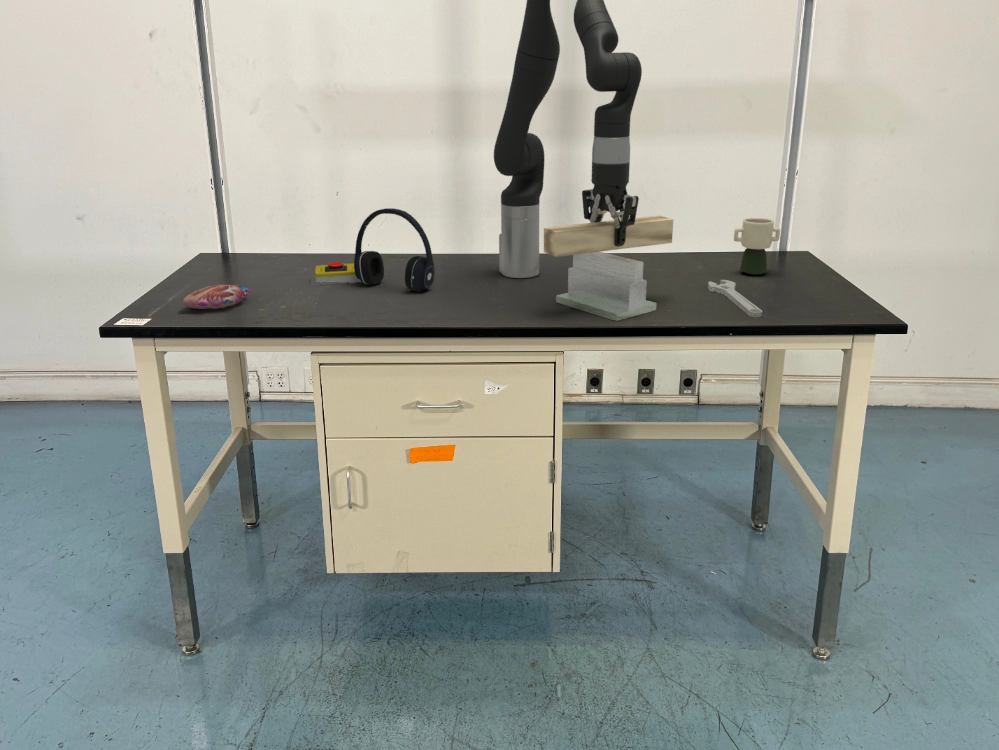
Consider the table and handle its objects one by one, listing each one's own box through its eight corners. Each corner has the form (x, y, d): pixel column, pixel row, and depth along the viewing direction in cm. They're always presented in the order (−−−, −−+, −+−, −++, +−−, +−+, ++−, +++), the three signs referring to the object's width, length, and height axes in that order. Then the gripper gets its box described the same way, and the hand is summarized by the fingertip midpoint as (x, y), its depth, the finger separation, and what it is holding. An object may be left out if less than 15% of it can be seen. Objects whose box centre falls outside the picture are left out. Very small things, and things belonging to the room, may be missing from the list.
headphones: (439, 288, 186) (436, 209, 179) (423, 296, 180) (419, 214, 174) (368, 279, 195) (363, 203, 188) (351, 286, 189) (345, 208, 182)
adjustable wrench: (764, 319, 163) (765, 311, 162) (732, 320, 163) (733, 311, 162) (731, 286, 186) (732, 279, 186) (703, 286, 186) (704, 279, 186)
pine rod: (543, 252, 164) (543, 227, 162) (658, 238, 174) (659, 215, 172) (555, 257, 159) (555, 232, 158) (671, 242, 170) (673, 219, 168)
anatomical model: (231, 320, 169) (262, 287, 181) (222, 296, 166) (253, 265, 178) (187, 323, 172) (220, 291, 184) (177, 300, 169) (211, 269, 181)
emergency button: (308, 260, 197) (370, 257, 199) (310, 278, 198) (371, 274, 201) (307, 269, 188) (372, 266, 191) (309, 287, 190) (373, 284, 192)
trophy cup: (770, 269, 199) (776, 217, 194) (779, 277, 192) (786, 222, 187) (726, 270, 199) (731, 217, 194) (734, 277, 192) (739, 223, 188)
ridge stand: (555, 302, 174) (556, 252, 170) (595, 292, 181) (596, 244, 177) (616, 321, 161) (618, 267, 157) (656, 309, 168) (659, 258, 164)
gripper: (650, 161, 157) (646, 246, 163) (598, 155, 168) (595, 235, 174) (624, 164, 153) (620, 251, 159) (572, 158, 163) (570, 240, 169)
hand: (607, 243), depth 166 cm, fingers closed on pine rod, 5 cm apart
